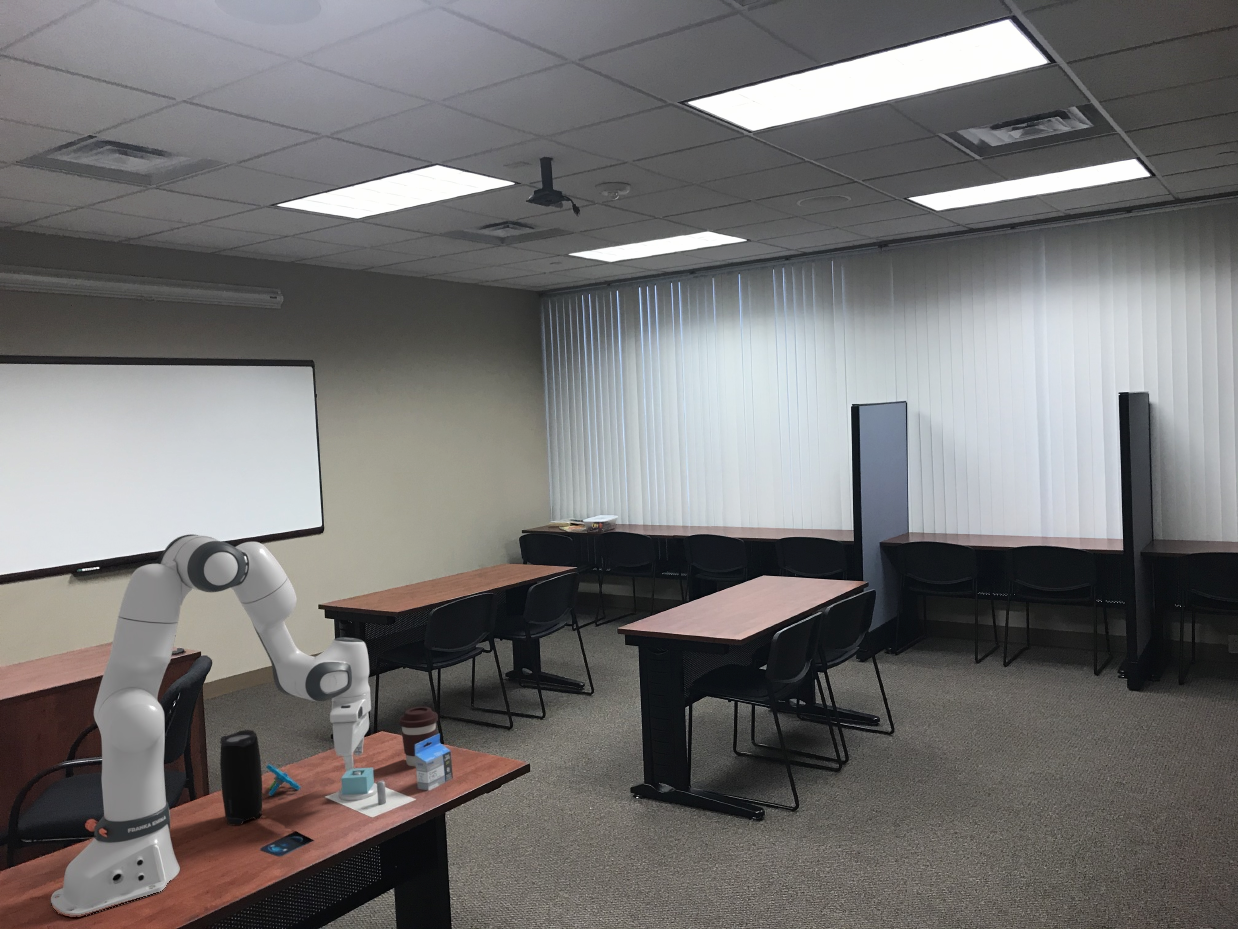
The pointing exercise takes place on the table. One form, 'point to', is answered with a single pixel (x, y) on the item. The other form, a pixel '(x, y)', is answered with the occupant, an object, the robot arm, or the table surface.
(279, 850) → the smartphone
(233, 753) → the portable speaker
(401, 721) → the coffee cup
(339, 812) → the table surface
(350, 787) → the teal box with opening
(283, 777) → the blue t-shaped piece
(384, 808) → the stand board
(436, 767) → the label tape box
